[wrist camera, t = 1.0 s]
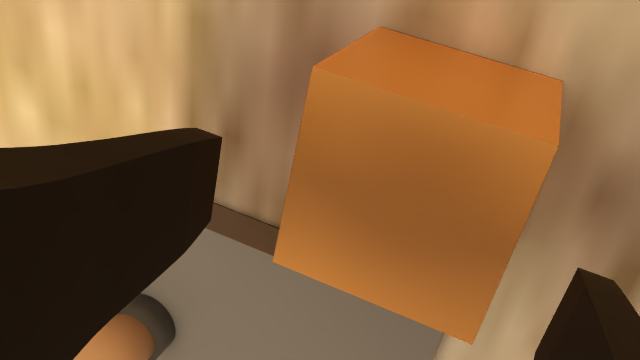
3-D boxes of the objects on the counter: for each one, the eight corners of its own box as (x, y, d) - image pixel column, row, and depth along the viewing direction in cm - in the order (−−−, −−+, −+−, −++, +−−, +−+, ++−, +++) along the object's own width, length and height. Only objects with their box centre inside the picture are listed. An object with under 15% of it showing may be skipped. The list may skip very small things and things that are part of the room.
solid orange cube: (562, 80, 15) (558, 146, 11) (496, 240, 18) (472, 345, 13) (380, 26, 17) (312, 66, 12) (340, 182, 19) (272, 261, 15)
